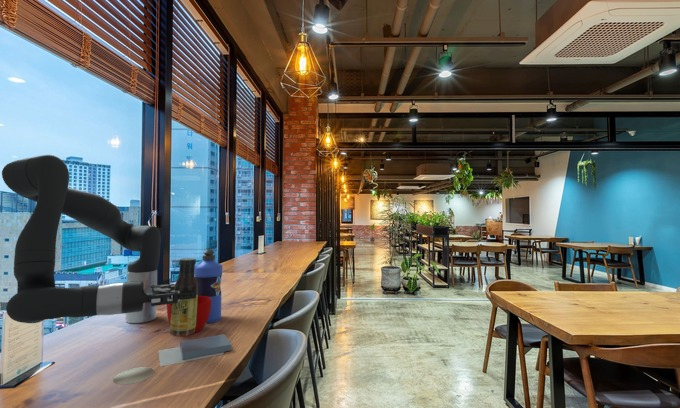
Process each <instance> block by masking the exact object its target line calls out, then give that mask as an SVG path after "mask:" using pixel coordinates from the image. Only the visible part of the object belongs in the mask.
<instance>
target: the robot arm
mask: <svg viewBox="0 0 680 408" xmlns="http://www.w3.org/2000/svg"><path fill="white" fill-rule="evenodd" d="M1 176H2V180H3V182H4V184H5V185H6V186H7V187H8V189H10V191H12V192H14V193H16V194H17V195H19V196H21V197H23V198H25V199H28V200H30V201H33V202H35V203H36V204H35V207H34V209H33V212H32V213H31V215H30V216H29V219H28V220H27V222H26V223H25V225H24V226H23V229H22V230H21V232H20V234H19V236H18V237H17V240H16V243H15V248H14V257H13V258H14V259H13V275H14V278H15V279H16V281H17V287H16V288H17V291H16V292H17V293H15V294H13V296H11V297H10V299H9V300H8V301H7V304H6V308H5V311H6V314H7V316H8V317H9V318H10V319H11V320H13V321H15V322H18V323H21V324H22V323H23V324H38V323H40V322H44V321H45V320H53V319H54V320H55V319H60V318H86V317H95V316H113V315H123V314H125V322H126V323H127V324H128V323H129V324H142V323H143V324H144V323H148V322H150V321H151V322H152V321H153V320H155V319H157V306H164V305H167V304H173V303H178V301H180V300H184V299H193V298H196V290H195V289H193V290H182V291H181V292H180V291H179V290H177V291H173V289H174V286H175V284H176V283H171V284H168V283H167V284H158V266H159V263H160V259H161V258H160V256H161V255H160V253H161V243H162V236H161V232H160V229H159V228H158V227H157V226H154V225H135V224H134V225H133V224H131V223H129V222H127V221H125V220H123V219H122V213H121V210H120V209H119V208H118V207H117V206H116V204H114V203H112V202H110V201H109V200H108V199H106V198H104V197H103V196H100V195H99V194H95V193H93V192H89V191H84V190H80V189H75V188H71V187H69V183H70V171H69V169H68V166H67V164H66V163H65V162H64V161H63V159H61V158H60V157H58V156H55V155H52V154H44V155H43V154H42V155H35V156H32V157H26V158H22V159H21V158H20V159H17V160H14V161H11V162H9V163H7V164H6V165H4V167H3V168H2V170H1ZM62 214H63V215H65V216H66V217H69V218H71V219H73V220H75V221H77V222H78V223H80V224H82V225H83V226H85V227H88V228H90V229H91V230H93V231H96V232H97V233H100V234H102V235H103V236H106V237H107V238H109V239H112V240H113V241H114V242H116V243H117V244H118V245H120V246H121V247H123V248H124V249H125V250H128V251H130V252H139V253H140V257H139V258H137V260H134V261H131V262H129V263H128V264H127V269H126V270H127V276H126V277H127V278H126V281H123V282H110V283H105V284H97V285H85V286H83V285H82V286H75V287H56V281H55V269H56V268H55V267H56V251H57V250H56V247H57V235H58V230H59V225H60V220H61V218H62ZM172 296H173V298H172Z"/></svg>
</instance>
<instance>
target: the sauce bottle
mask: <svg viewBox="0 0 680 408" xmlns="http://www.w3.org/2000/svg"><path fill="white" fill-rule="evenodd" d="M178 265H179V271H178V276H177V279H176V281H175V283H174V284H175V286H174V289H173V291H177V290H179V291H180V292H181V291H182V290H193V289H195V290H196V298H193V299H184V300H180V301H178V303H173V304H172V307H171V323H169V328H170V329H169V330H170V331H169V332H170V335H171V336H173V337H187V336H189V335H193V334H192V333H194V331H195V327H196V315H197V300H198V282H197V280H196V279H195V276H194V274H195V273H194V269H195V266H196V265H197V264H196V258H190V257H185V258H180V259H179V261H178ZM172 298H173V296H172ZM194 334H195V333H194Z"/></svg>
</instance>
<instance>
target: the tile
mask: <svg viewBox="0 0 680 408" xmlns="http://www.w3.org/2000/svg"><path fill="white" fill-rule="evenodd" d="M178 344H179V345H178V347H179V348H180V352H181V356H182V360H184V359H190V358H195V357H200V356H205V355H210V354H215V353H220V352H223V353H224V352H229V351H232V343H231V342H230V340H229V339H228V338H227V336H226V334H225V333H224V334H218V335H211V336H206V337H200V338H193V339H187V340H181V341H179V343H178Z"/></svg>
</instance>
